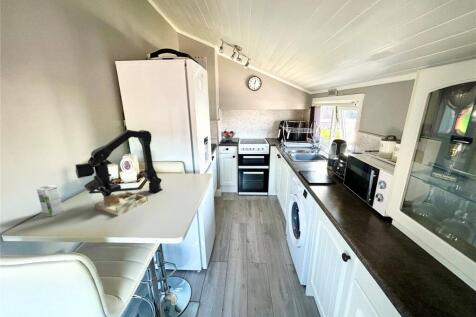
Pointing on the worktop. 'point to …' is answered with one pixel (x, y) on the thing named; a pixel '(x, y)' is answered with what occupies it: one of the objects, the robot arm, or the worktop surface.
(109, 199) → the walnut block
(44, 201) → the syrup box
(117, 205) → the trap board
